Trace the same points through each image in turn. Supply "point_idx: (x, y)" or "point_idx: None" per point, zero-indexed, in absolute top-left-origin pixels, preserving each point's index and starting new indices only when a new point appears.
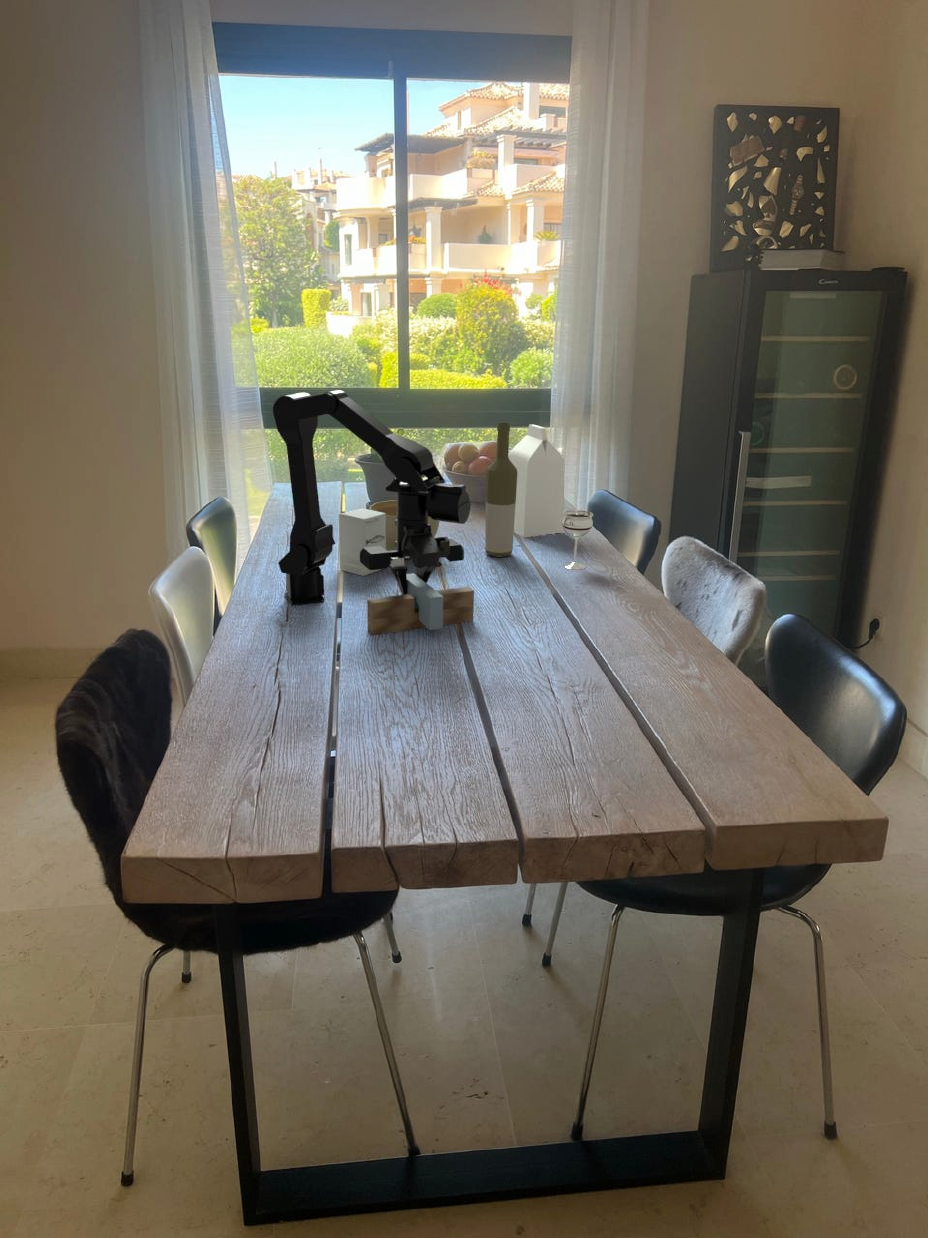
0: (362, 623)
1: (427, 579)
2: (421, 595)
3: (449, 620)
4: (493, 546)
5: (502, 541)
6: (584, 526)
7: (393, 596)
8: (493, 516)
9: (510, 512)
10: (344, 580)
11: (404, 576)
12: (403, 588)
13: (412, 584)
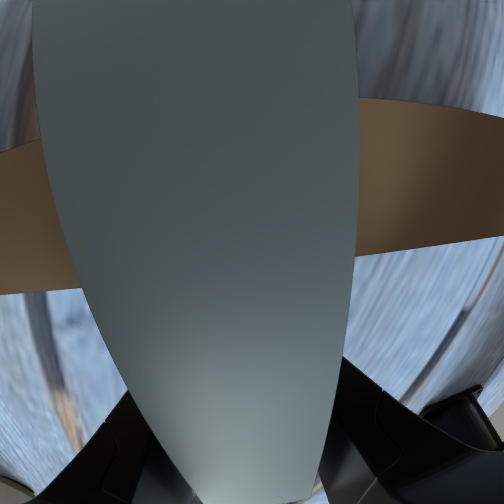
0: (444, 246)
1: (97, 438)
2: None
3: None
4: (17, 498)
5: (2, 499)
6: None
7: (481, 226)
8: None
9: None
10: (314, 485)
11: (398, 463)
12: (348, 366)
13: (338, 341)
